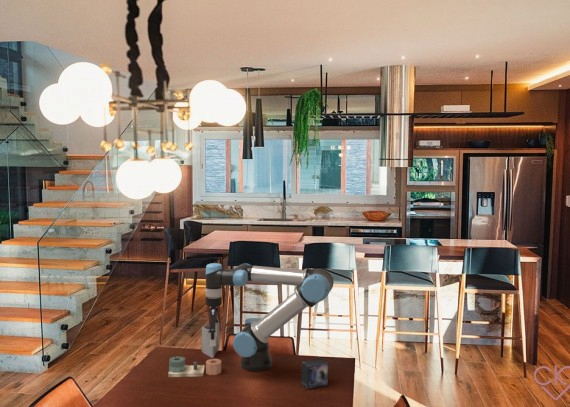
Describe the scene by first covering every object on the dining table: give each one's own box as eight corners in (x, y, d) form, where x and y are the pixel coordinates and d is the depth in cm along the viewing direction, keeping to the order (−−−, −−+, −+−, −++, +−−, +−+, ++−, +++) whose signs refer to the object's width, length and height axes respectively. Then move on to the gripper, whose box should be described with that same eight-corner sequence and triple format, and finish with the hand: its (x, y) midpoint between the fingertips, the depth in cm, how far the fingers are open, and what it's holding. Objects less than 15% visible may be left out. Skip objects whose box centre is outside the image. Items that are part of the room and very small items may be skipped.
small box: (307, 390, 227) (308, 366, 227) (300, 384, 233) (300, 361, 232) (328, 385, 232) (328, 362, 232) (320, 380, 238) (321, 358, 237)
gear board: (204, 368, 251) (204, 354, 251) (203, 376, 241) (203, 362, 241) (170, 368, 250) (170, 355, 249) (168, 377, 240) (168, 363, 239)
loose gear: (221, 368, 250) (221, 358, 250) (220, 374, 243) (220, 364, 243) (206, 369, 250) (206, 359, 249) (205, 375, 243) (205, 364, 242)
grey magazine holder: (205, 346, 281) (205, 311, 280) (219, 347, 281) (219, 311, 280) (198, 357, 265) (198, 320, 264) (213, 358, 265) (213, 320, 263)
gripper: (207, 290, 256) (206, 332, 258) (203, 303, 231) (203, 350, 233) (222, 290, 257) (222, 332, 258) (220, 303, 232) (220, 350, 234)
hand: (213, 341), depth 246 cm, fingers open, 13 cm apart
